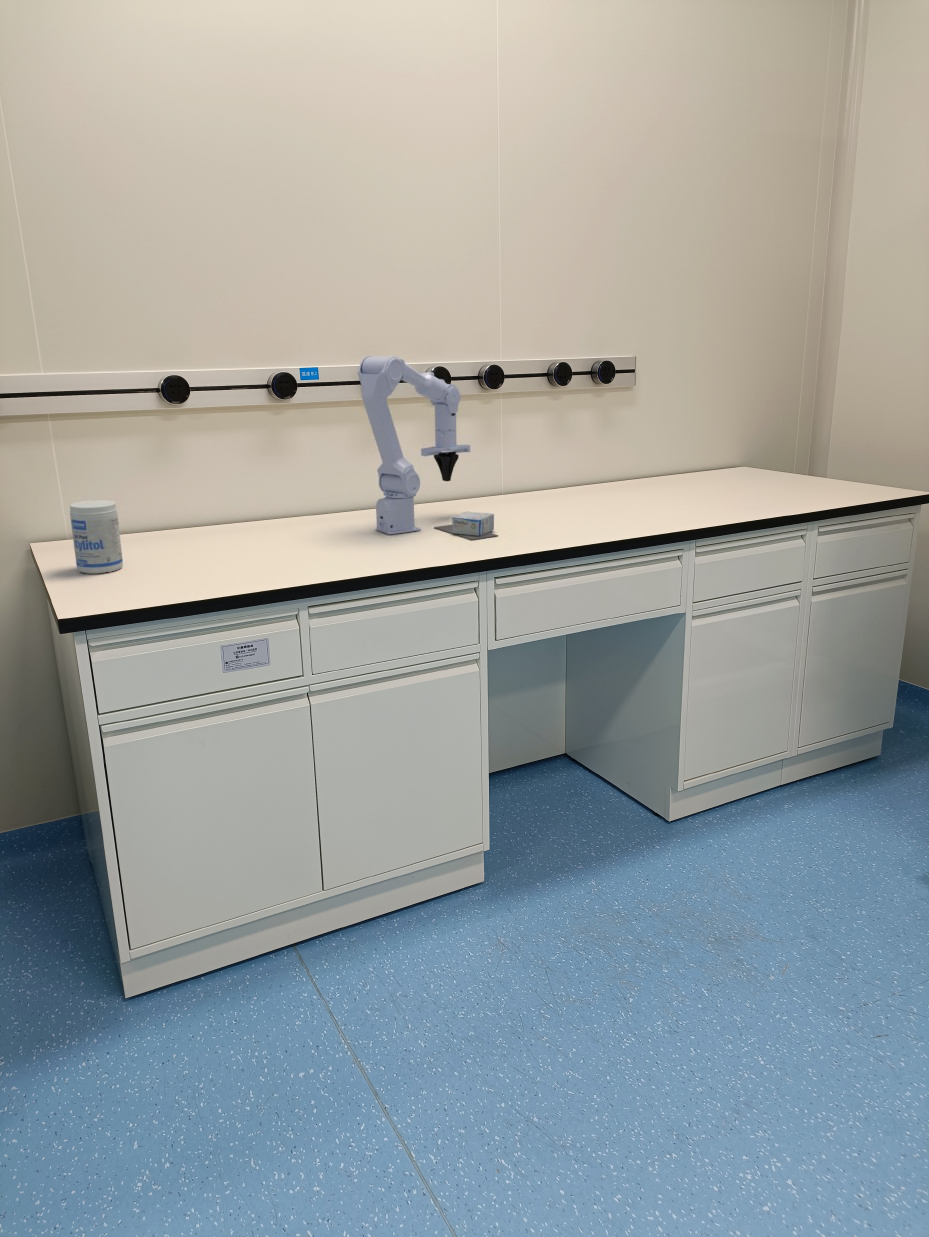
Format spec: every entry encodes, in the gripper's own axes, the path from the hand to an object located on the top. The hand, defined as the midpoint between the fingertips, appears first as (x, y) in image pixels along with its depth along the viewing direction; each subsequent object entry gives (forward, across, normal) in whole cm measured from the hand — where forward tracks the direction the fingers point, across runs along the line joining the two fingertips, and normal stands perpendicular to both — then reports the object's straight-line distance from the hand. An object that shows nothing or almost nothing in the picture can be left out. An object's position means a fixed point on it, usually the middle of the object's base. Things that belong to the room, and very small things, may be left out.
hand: (446, 480), depth 244 cm
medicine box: (+8, -1, -18) cm, 20 cm away
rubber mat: (+10, -6, -18) cm, 22 cm away
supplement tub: (+11, -92, -3) cm, 93 cm away
